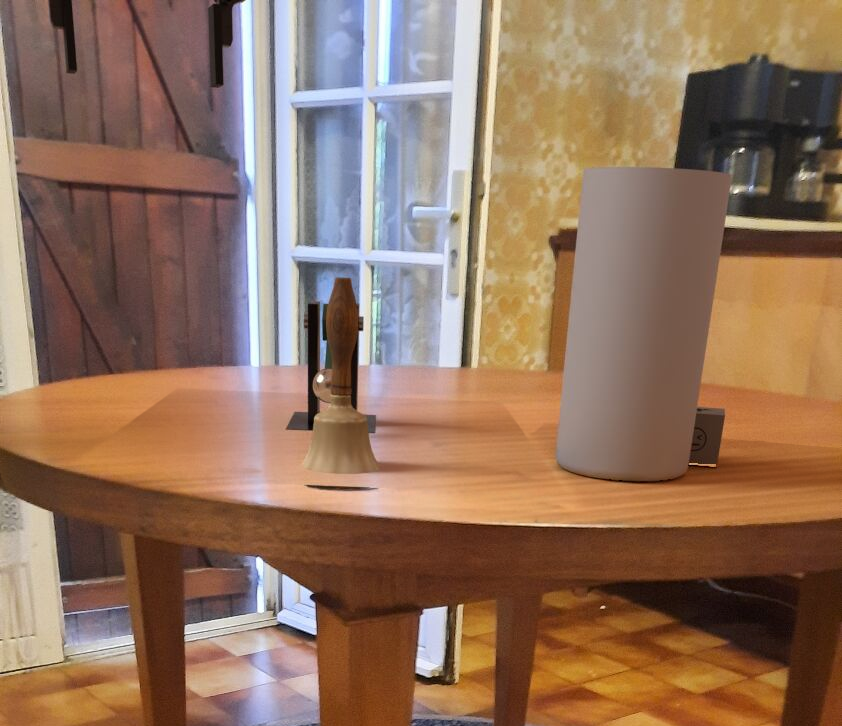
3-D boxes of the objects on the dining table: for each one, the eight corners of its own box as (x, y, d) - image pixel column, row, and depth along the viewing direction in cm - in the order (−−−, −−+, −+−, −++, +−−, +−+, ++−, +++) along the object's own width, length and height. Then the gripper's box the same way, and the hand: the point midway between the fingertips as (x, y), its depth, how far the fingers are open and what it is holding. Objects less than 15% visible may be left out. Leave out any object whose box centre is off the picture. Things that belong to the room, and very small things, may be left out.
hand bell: (280, 472, 94) (278, 273, 87) (369, 469, 97) (373, 277, 90) (308, 492, 87) (307, 278, 80) (403, 488, 90) (410, 281, 83)
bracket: (374, 445, 108) (378, 308, 102) (285, 442, 107) (283, 304, 102) (375, 426, 118) (379, 302, 113) (294, 423, 118) (293, 298, 112)
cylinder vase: (668, 460, 108) (708, 180, 97) (702, 486, 97) (751, 172, 86) (546, 455, 107) (572, 172, 96) (565, 480, 96) (597, 164, 85)
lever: (345, 410, 103) (345, 383, 100) (312, 409, 103) (311, 381, 100) (350, 328, 110) (350, 300, 108) (319, 327, 110) (318, 299, 107)
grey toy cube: (716, 459, 109) (724, 408, 107) (716, 468, 105) (725, 415, 103) (666, 455, 110) (674, 404, 108) (665, 463, 106) (672, 411, 104)
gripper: (261, -168, 100) (265, 95, 110) (-24, -220, 92) (6, 70, 101) (280, -194, 94) (283, 87, 103) (-24, -252, 86) (8, 60, 95)
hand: (146, 79), depth 102 cm, fingers open, 13 cm apart
